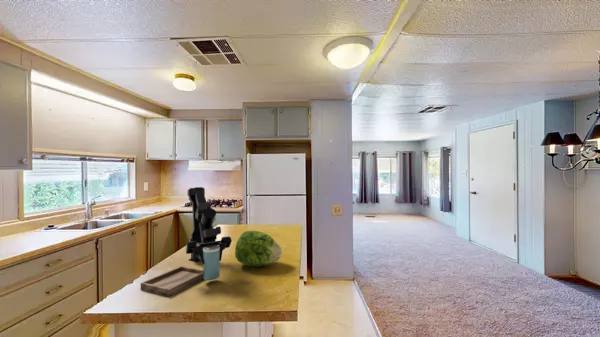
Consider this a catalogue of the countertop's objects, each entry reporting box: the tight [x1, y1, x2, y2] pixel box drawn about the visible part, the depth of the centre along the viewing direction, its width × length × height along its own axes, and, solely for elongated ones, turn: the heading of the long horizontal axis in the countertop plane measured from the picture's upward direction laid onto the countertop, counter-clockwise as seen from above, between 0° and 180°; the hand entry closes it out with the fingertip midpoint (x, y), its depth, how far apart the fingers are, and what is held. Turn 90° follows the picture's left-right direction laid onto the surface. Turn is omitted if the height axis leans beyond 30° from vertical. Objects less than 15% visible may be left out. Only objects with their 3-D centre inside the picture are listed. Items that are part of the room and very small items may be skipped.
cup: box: [202, 245, 221, 281], centre depth 108 cm, size 7×7×12 cm
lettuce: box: [234, 230, 282, 267], centre depth 128 cm, size 17×23×17 cm
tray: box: [140, 265, 204, 298], centre depth 108 cm, size 16×20×2 cm
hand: (212, 262), depth 107 cm, fingers closed on cup, 7 cm apart
